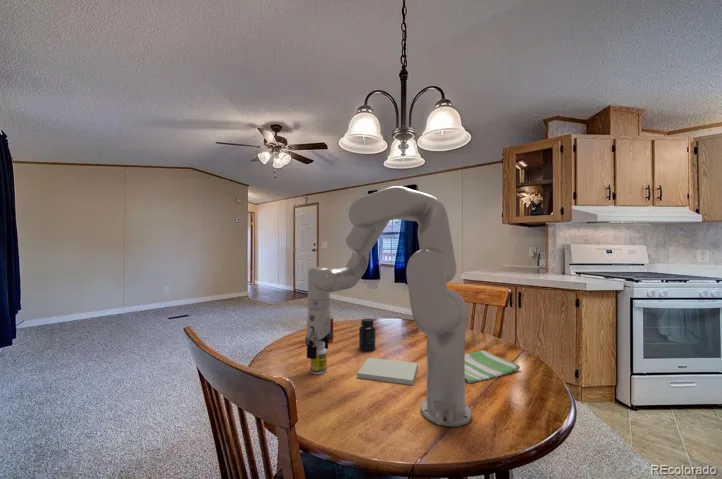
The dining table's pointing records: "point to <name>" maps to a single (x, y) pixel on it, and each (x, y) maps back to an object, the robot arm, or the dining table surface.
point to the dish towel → (486, 366)
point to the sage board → (388, 371)
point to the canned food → (330, 337)
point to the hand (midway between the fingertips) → (317, 353)
